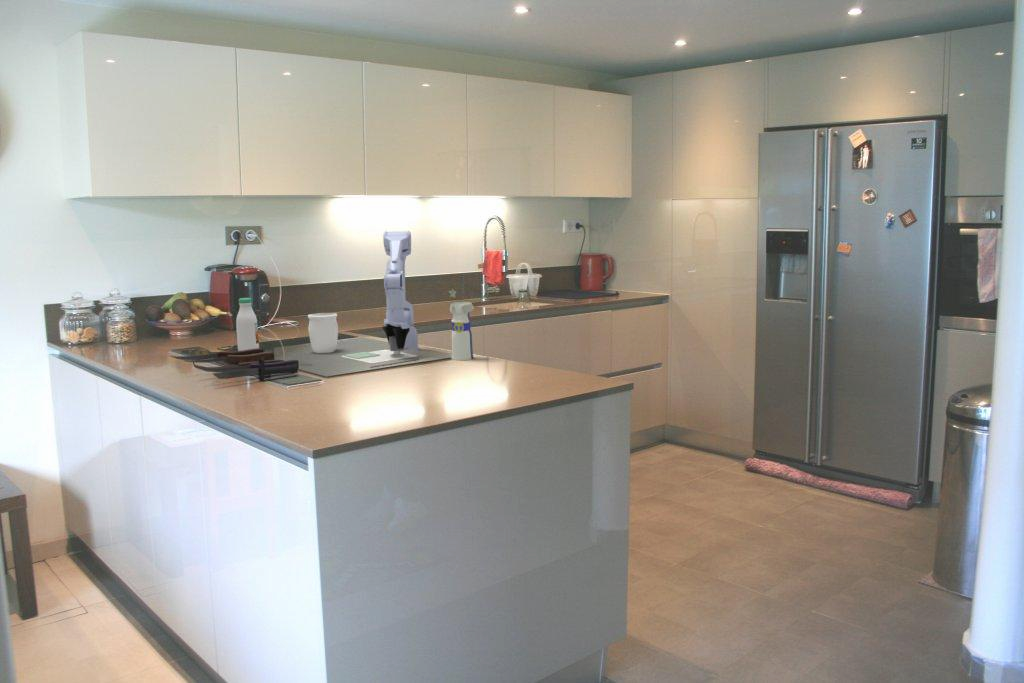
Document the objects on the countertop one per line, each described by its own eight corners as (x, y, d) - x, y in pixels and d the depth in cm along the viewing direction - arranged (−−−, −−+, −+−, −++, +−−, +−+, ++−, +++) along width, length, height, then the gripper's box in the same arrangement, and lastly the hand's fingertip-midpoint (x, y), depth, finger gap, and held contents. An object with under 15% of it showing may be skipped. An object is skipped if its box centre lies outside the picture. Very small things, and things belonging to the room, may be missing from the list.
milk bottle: (252, 352, 312) (249, 299, 309) (234, 352, 313) (230, 299, 310) (263, 349, 319) (259, 297, 316) (244, 348, 321) (240, 297, 318)
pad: (366, 352, 298) (365, 351, 298) (379, 355, 291) (379, 354, 291) (343, 355, 292) (343, 354, 292) (357, 359, 285) (357, 357, 285)
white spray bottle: (471, 360, 286) (469, 288, 282) (447, 360, 288) (445, 288, 284) (477, 356, 294) (475, 286, 290) (454, 356, 296) (452, 286, 292)
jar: (303, 356, 301) (301, 315, 299) (322, 352, 310) (320, 312, 308) (326, 358, 296) (324, 316, 294) (345, 353, 305) (343, 313, 303)
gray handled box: (389, 349, 291) (389, 334, 290) (402, 348, 292) (402, 333, 291) (390, 351, 286) (390, 336, 286) (404, 350, 287) (403, 335, 286)
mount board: (386, 353, 304) (385, 337, 303) (418, 360, 290) (417, 343, 289) (340, 360, 292) (340, 343, 291) (371, 367, 277) (370, 349, 276)
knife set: (168, 370, 274) (168, 346, 273) (264, 361, 295) (264, 340, 294) (207, 388, 247) (207, 363, 246) (309, 378, 268) (309, 354, 267)
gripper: (375, 307, 290) (377, 345, 293) (393, 311, 279) (395, 351, 281) (393, 305, 294) (395, 343, 297) (412, 309, 282) (414, 348, 285)
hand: (396, 347), depth 289 cm, fingers closed on gray handled box, 6 cm apart
